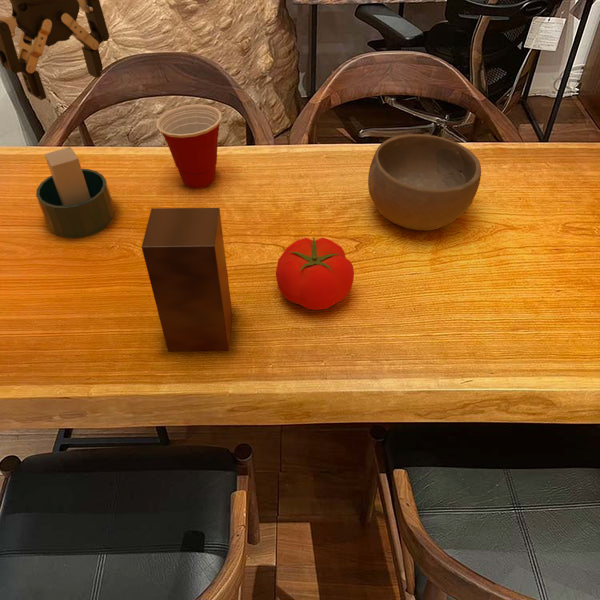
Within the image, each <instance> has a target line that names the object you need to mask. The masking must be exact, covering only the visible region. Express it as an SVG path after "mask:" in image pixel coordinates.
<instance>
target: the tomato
mask: <svg viewBox="0 0 600 600" xmlns="http://www.w3.org/2000/svg"><path fill="white" fill-rule="evenodd" d="M354 269H355V268H354V266H353V264H352V262H351V260H349V259H348V258H346V253H345V250H344V248H343V247H342V246H341V245H339V244H338V243H336V242H335V241H333V240H331V239H329V238H325V237H320V238H318V239H315V236H313V238H312V239H310V238H308V237H304V238H301V239H297V240H296V241H294V242H292V243H291V244H289V245H288V246H287V247H286V248H285V249H284V251H283V253H282V254H281V255H280V256H279V258H278V260H277V264H276V269H275V279H276V283H277V287H278V290H279V291H280V292H281V294H282V295H283V296H284V297H285V299H286V300H288V301H290V302H291V303H293V304H297V305H301V306H302V307H304V308H305V309H307V310H314V311H317V310H327V309H329V308H331V307H333V306H334V305H336V304H337V303H340V302H341V301H343V300H345V298H346V297H347V296H348V295H349V292H350V291H351V289H352V287H353V283H354V276H355V271H354Z"/></svg>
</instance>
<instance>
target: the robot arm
mask: <svg viewBox="0 0 600 600" xmlns="http://www.w3.org/2000/svg"><path fill="white" fill-rule="evenodd" d="M9 3H10V4H11V5H10V6H11V9H12V11H11V15H9V16H5V17H1V18H0V64H1V66H2V67H3V68H5V69H7V70H8V71H10V72H11V73H13V74H19V73H21V76H22V78H23V81H24V84H25V87H26V90H27V92H28V93H29V94H30V95H31V96H33V97H35V98H36V99H38V100H40V101H43V100H45V99H47V94H46V91H45V88H44V85H43V82H42V79H41V76H40V73H39V71H38V70H36V68H37V66H38V62H39V59H40V58H41V57H42V56H43V53H44V51H45V48H46V46H47V47H51V46H54V45H56V44H57V43H59V42H66V41H69V40H71V38H70V37H71V36H72V37H73V38H75V40H77V41H78V42H79V43H80V44H82V45H83V46H82V47H81V50H82V54H83V59H84V61H85V65H86V69H87V72H88V75H90V76H92V77H94V78H95V79H98V78H100V77H102V72H103V69H104V68H103V66H104V65H103V63H102V62H103V61H102V58H101V55H100V50H99V48H100V45H101V44H102V43H103V42H108V41H109V39H110V33H109V29H108V27H107V22H106V19H105V16H104V12H103V9H102V5H101V2H100V0H9ZM80 11H82V12H84V14H85V17H86V20H87V25H88V27H89V30H90V32H88V31H87V30H86V29H85V28H84V27H83V26H82V25H81V24H79V23H78V21H77V20H78V16H79V13H80ZM16 28H18V29H20V31H21V36H20V38H19V42H18V47H19V51H18V53H17V50H16V49H17V48H16V47H15V43H14V39H13V38H14V37H15V35H16V34H15V32H16V31H15V30H16Z"/></svg>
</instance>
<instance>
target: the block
mask: <svg viewBox="0 0 600 600" xmlns="http://www.w3.org/2000/svg"><path fill="white" fill-rule="evenodd" d="M44 157H45V160H46V164H47V166H48V168H49V171H50V174H51V176H52V177H53V180H54V183H55V186H56V188H57V191H58V194H59V197H60V200H61V203H62V205H63V206H70V205H76V204H80V203H83V202H86V201H88V200H89V199H91V198H90V195H89V191H88V188H87V185H86V182H85V179H84V175H83V172H82V169H83V168H82V165H81V163H80V159H79V158H78V157H79V156H77V155H76V153H75V151H74V150H73V149H72V147H71V146H67V147H64V148H60V149H57V150H54V151H51V152H47V153H44Z"/></svg>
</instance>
